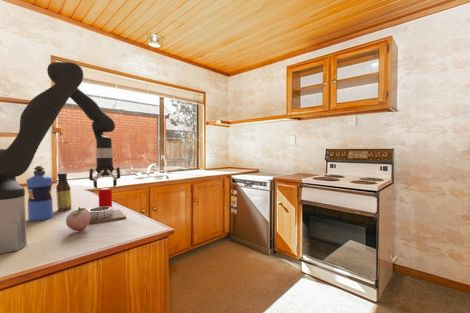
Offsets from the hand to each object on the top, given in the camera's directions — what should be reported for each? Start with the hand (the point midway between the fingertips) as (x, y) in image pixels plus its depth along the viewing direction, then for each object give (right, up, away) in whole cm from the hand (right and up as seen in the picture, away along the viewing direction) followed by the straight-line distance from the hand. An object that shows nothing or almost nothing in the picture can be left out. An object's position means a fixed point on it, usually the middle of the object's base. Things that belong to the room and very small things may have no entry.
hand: (105, 187), depth 127 cm
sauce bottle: (-24, -13, +3) cm, 27 cm away
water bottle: (-24, -13, -13) cm, 30 cm away
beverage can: (0, -13, 0) cm, 13 cm away
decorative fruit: (+6, -14, -31) cm, 34 cm away
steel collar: (+4, -13, -12) cm, 19 cm away
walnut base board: (+4, -13, -12) cm, 19 cm away
